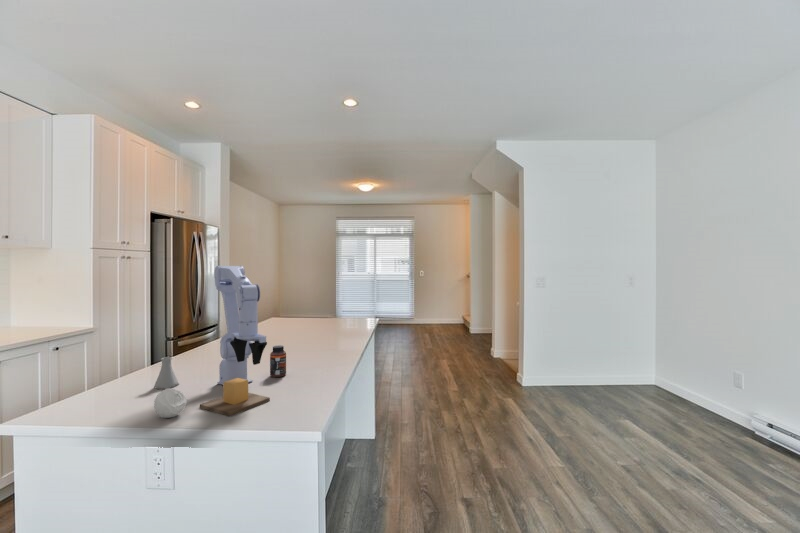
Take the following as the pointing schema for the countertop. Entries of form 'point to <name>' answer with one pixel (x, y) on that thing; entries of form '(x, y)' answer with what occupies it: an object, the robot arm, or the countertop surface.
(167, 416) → the white ridged ball
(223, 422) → the countertop surface
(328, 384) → the countertop surface
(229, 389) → the golden yellow cube
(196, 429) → the countertop surface
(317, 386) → the countertop surface
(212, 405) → the flat brown square board
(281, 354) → the supplement bottle
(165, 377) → the flask
